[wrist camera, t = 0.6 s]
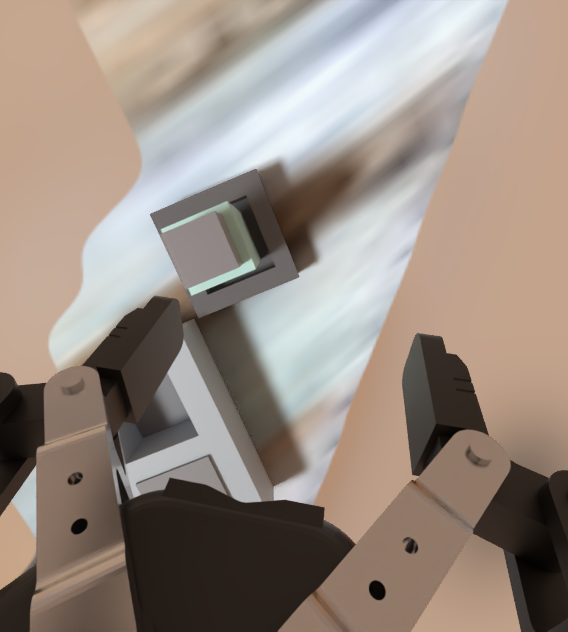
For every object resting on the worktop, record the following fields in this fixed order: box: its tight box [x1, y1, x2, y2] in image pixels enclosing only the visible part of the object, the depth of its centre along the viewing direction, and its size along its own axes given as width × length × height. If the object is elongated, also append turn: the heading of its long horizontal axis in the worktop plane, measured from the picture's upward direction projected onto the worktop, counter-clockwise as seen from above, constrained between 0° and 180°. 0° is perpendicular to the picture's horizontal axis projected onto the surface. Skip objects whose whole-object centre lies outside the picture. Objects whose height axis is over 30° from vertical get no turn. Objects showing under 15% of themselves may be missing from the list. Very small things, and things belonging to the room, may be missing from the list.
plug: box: [159, 201, 261, 296], centre depth 27 cm, size 4×4×14 cm
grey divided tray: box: [80, 319, 274, 503], centre depth 36 cm, size 20×12×6 cm, turn 22°
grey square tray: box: [150, 169, 299, 318], centre depth 33 cm, size 10×10×3 cm
